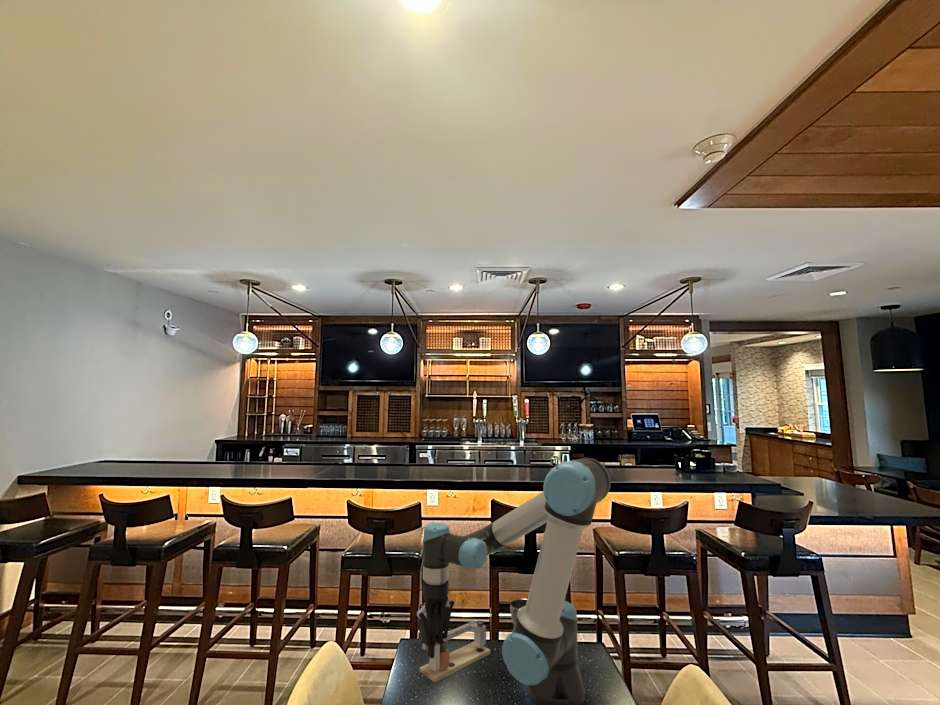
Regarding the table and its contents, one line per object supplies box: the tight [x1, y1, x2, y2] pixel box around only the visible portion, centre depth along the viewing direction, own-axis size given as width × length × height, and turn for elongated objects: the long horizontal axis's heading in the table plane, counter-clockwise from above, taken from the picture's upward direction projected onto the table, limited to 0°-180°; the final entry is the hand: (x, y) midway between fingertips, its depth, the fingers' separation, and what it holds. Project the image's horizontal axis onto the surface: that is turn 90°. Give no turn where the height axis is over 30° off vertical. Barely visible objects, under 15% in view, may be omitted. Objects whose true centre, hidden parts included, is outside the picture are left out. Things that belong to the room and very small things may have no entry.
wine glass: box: [509, 598, 528, 625], centre depth 141 cm, size 8×8×15 cm
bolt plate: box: [419, 641, 491, 683], centre depth 136 cm, size 7×22×1 cm, turn 134°
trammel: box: [421, 620, 487, 651], centre depth 136 cm, size 6×20×8 cm, turn 134°
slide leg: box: [440, 643, 450, 670], centre depth 133 cm, size 8×3×6 cm, turn 44°
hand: (434, 668), depth 128 cm, fingers closed
